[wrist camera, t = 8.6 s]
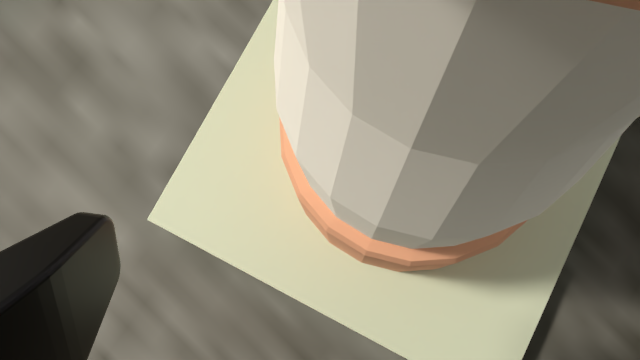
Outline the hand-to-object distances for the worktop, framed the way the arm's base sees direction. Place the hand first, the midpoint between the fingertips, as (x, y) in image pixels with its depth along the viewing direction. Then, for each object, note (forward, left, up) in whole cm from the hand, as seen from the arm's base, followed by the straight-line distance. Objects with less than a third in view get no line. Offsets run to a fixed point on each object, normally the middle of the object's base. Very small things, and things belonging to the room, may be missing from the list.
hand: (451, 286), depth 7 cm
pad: (+4, +2, -11) cm, 12 cm away
